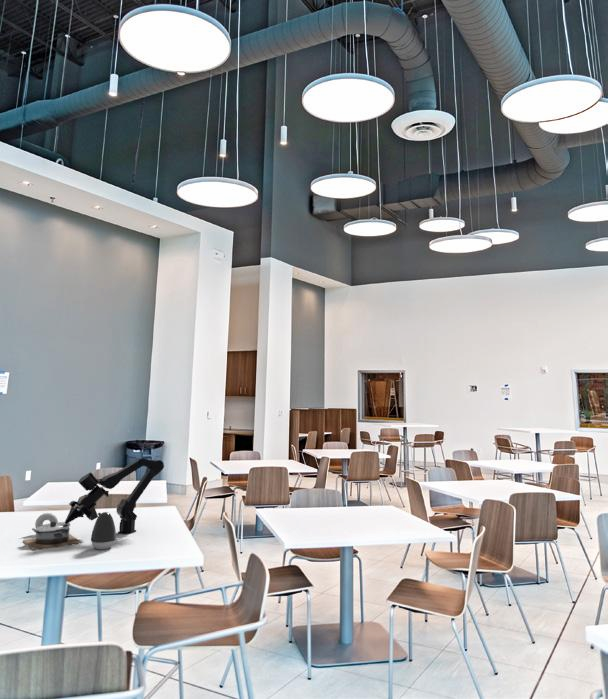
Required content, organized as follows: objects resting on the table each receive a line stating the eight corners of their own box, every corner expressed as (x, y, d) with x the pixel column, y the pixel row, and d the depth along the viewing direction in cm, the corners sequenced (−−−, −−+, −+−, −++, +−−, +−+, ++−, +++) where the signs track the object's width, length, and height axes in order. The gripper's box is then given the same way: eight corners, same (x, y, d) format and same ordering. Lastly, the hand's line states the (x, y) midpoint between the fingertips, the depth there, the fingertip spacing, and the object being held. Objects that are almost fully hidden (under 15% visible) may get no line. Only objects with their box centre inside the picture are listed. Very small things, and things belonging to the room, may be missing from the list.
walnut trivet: (69, 535, 243) (69, 534, 243) (81, 543, 227) (82, 542, 228) (22, 541, 230) (22, 540, 230) (32, 550, 215) (33, 548, 215)
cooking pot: (61, 534, 242) (62, 523, 242) (75, 543, 225) (76, 531, 226) (30, 538, 233) (31, 527, 234) (41, 548, 216) (42, 535, 217)
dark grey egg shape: (107, 544, 227) (109, 509, 229) (119, 548, 220) (122, 512, 223) (85, 548, 219) (88, 512, 221) (97, 552, 213) (100, 515, 215)
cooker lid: (65, 522, 239) (65, 516, 240) (74, 527, 229) (74, 521, 229) (30, 529, 230) (30, 522, 230) (37, 534, 219) (37, 527, 219)
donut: (33, 535, 242) (35, 514, 243) (34, 534, 245) (36, 512, 246) (56, 534, 245) (58, 512, 246) (57, 532, 248) (59, 511, 250)
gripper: (110, 511, 237) (83, 538, 229) (97, 506, 252) (71, 531, 243) (94, 495, 234) (66, 522, 225) (82, 490, 248) (55, 515, 239)
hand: (65, 523), depth 233 cm, fingers closed, pressing on cooker lid
